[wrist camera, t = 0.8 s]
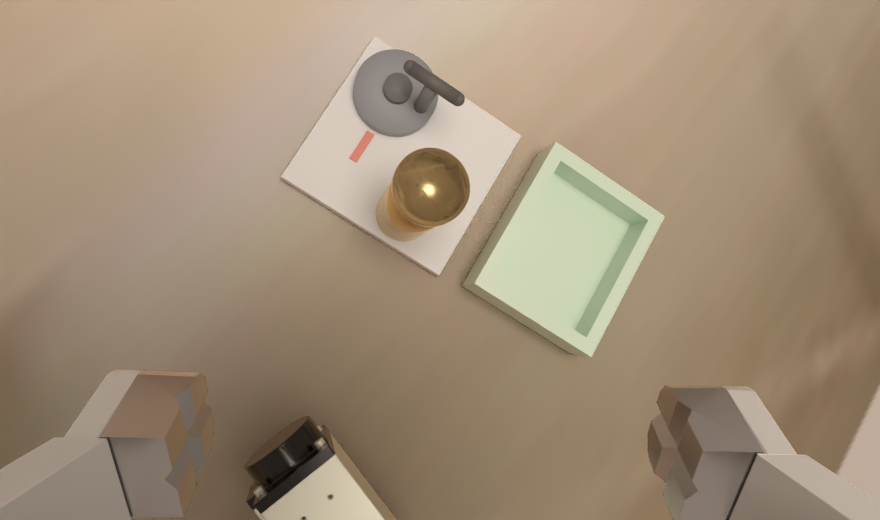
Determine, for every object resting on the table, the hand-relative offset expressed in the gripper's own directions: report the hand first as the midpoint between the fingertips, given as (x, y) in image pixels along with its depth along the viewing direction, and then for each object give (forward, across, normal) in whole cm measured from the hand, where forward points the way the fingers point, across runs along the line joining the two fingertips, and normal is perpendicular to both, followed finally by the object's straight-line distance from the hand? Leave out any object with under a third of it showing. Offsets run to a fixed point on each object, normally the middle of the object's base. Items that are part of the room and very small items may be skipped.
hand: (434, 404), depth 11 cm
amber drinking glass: (+32, +2, +12) cm, 34 cm away
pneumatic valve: (+21, +6, +28) cm, 35 cm away
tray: (+33, -10, +15) cm, 38 cm away
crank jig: (+35, +2, +9) cm, 36 cm away
